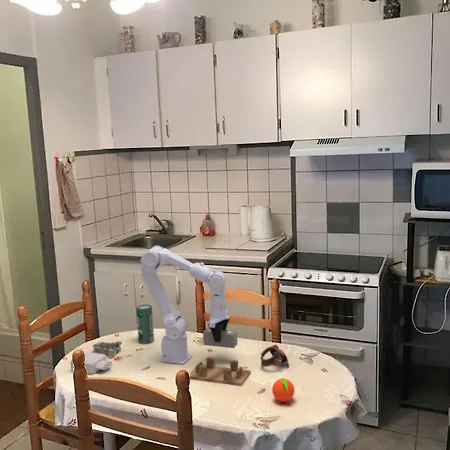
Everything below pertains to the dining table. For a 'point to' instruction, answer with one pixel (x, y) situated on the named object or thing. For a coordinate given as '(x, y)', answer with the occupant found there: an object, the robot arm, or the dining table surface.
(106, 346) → the egg carton
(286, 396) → the clementine
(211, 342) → the power strip
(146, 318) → the can
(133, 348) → the dining table surface
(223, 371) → the rack
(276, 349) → the brown open ring
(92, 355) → the charger
